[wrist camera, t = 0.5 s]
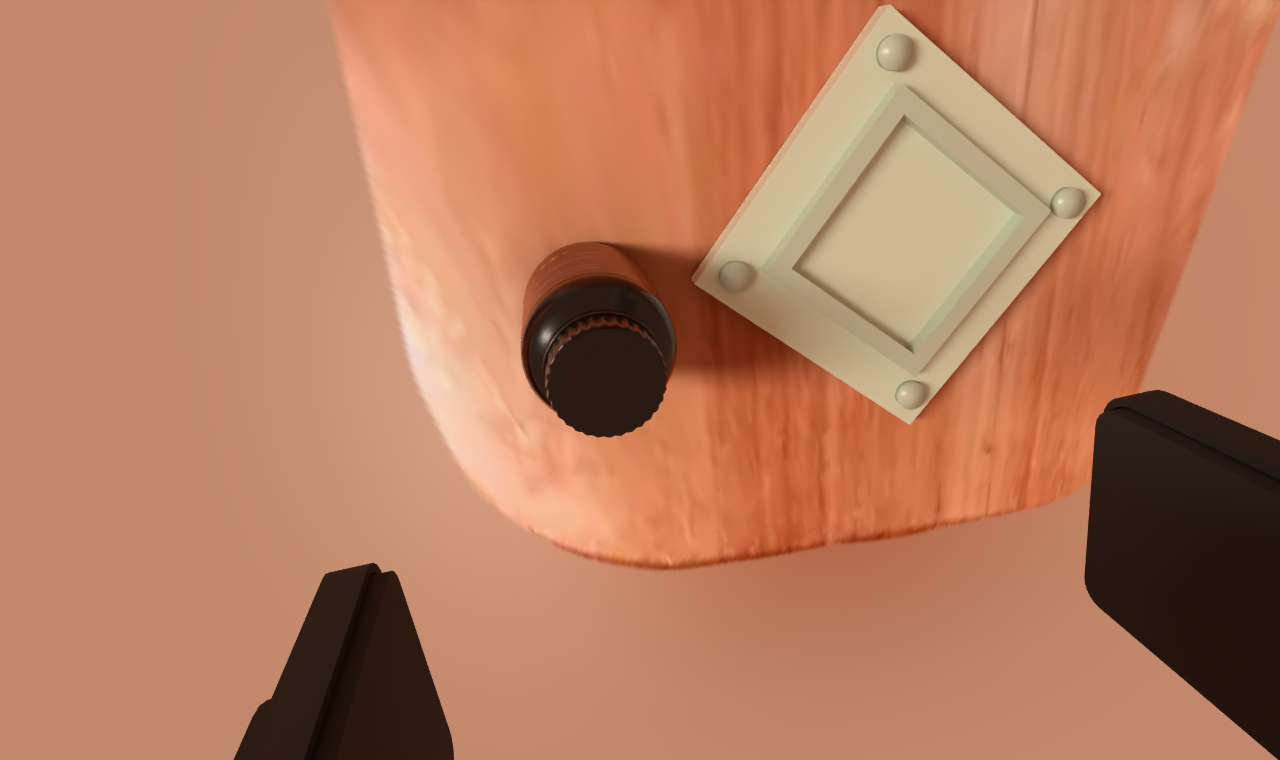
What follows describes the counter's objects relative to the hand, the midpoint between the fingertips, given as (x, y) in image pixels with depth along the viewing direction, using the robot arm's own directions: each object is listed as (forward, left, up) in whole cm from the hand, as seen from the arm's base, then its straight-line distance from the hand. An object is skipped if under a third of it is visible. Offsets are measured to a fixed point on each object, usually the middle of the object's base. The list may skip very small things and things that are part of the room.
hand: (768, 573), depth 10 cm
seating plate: (-8, +14, -30) cm, 34 cm away
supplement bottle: (+4, +2, -31) cm, 31 cm away
